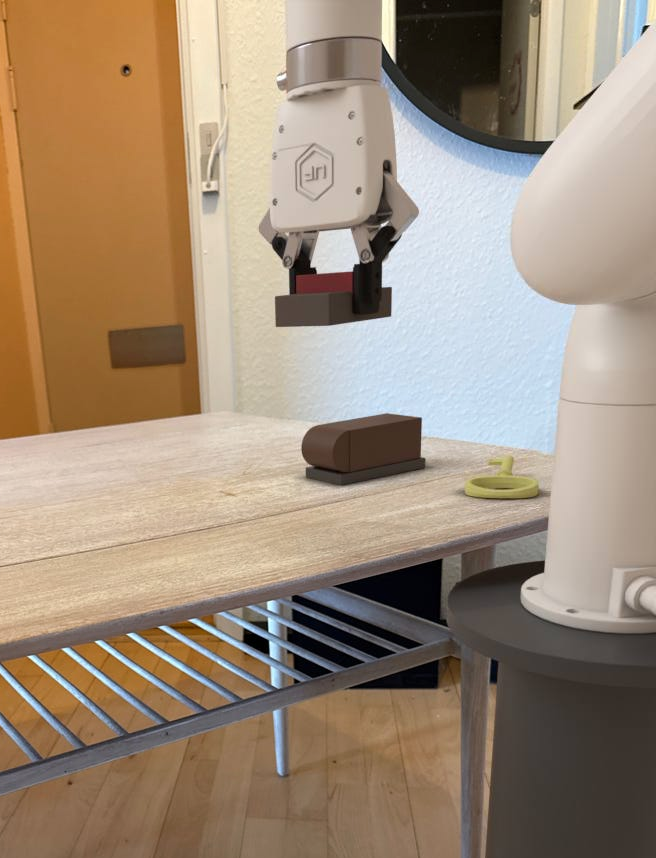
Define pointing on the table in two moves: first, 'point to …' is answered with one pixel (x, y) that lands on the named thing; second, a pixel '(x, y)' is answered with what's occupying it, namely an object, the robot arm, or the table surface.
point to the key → (502, 483)
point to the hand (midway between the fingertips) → (334, 312)
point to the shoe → (363, 448)
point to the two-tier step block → (325, 302)
